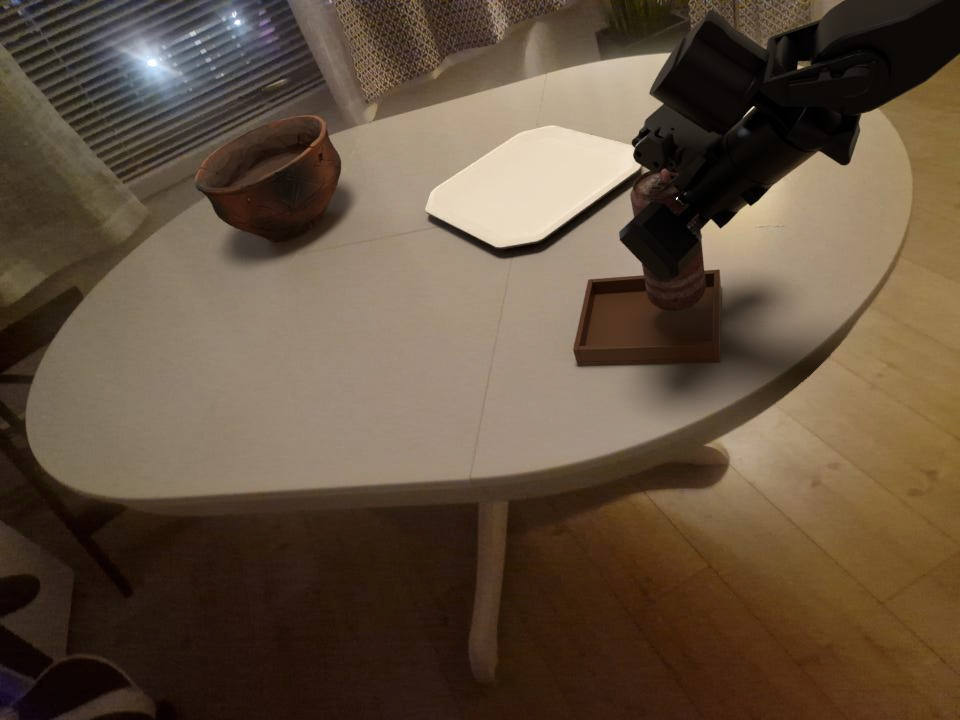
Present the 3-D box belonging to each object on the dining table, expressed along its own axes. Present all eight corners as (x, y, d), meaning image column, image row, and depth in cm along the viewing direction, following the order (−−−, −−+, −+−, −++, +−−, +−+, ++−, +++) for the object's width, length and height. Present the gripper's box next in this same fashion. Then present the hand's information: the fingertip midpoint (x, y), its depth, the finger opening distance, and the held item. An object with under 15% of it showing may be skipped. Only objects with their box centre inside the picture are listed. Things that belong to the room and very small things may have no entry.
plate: (415, 213, 110) (410, 202, 109) (540, 130, 118) (537, 119, 116) (520, 268, 90) (516, 256, 88) (663, 164, 98) (661, 150, 96)
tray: (720, 286, 76) (719, 269, 74) (720, 362, 68) (718, 344, 66) (591, 295, 81) (588, 279, 80) (577, 365, 73) (572, 349, 72)
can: (701, 270, 72) (690, 156, 63) (709, 307, 67) (699, 190, 58) (645, 280, 73) (626, 170, 64) (650, 317, 69) (630, 204, 60)
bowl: (370, 225, 112) (331, 145, 102) (239, 281, 112) (187, 207, 102) (352, 170, 131) (318, 98, 121) (240, 218, 131) (196, 151, 121)
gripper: (749, 27, 56) (655, 133, 70) (619, 140, 49) (545, 231, 63) (839, 121, 56) (727, 207, 70) (721, 247, 49) (624, 313, 63)
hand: (657, 236), depth 67 cm, fingers closed on can, 5 cm apart
